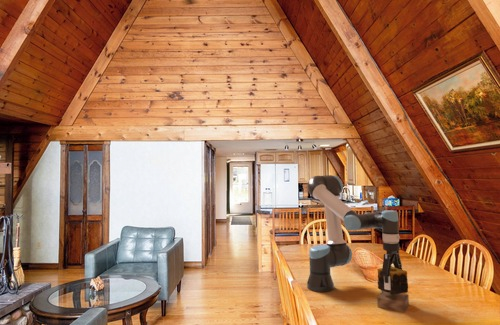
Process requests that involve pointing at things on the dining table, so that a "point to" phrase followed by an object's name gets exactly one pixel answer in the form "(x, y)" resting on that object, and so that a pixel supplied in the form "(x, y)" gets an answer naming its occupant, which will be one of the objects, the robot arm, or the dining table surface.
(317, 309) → the dining table surface
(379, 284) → the candle
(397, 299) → the walnut plinth
